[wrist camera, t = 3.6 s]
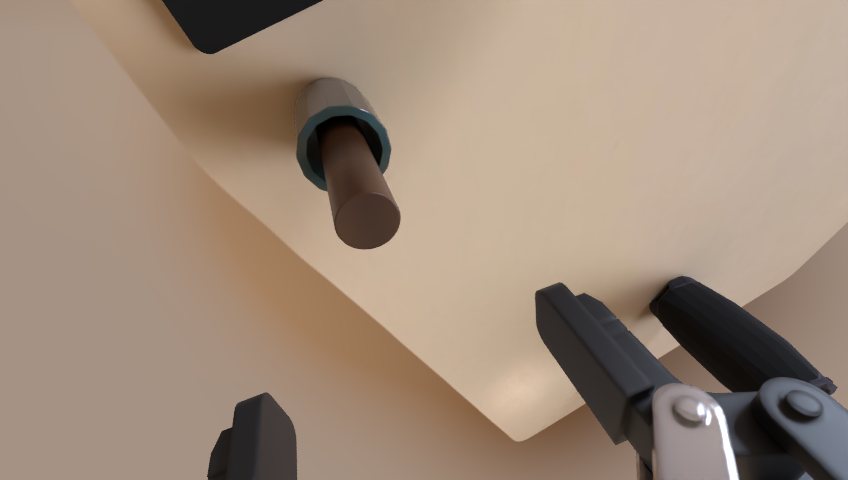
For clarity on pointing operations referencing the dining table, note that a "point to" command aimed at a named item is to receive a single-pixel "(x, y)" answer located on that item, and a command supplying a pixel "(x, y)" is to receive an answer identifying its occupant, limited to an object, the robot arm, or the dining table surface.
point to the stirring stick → (355, 185)
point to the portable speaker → (730, 339)
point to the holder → (323, 104)
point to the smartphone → (229, 19)
